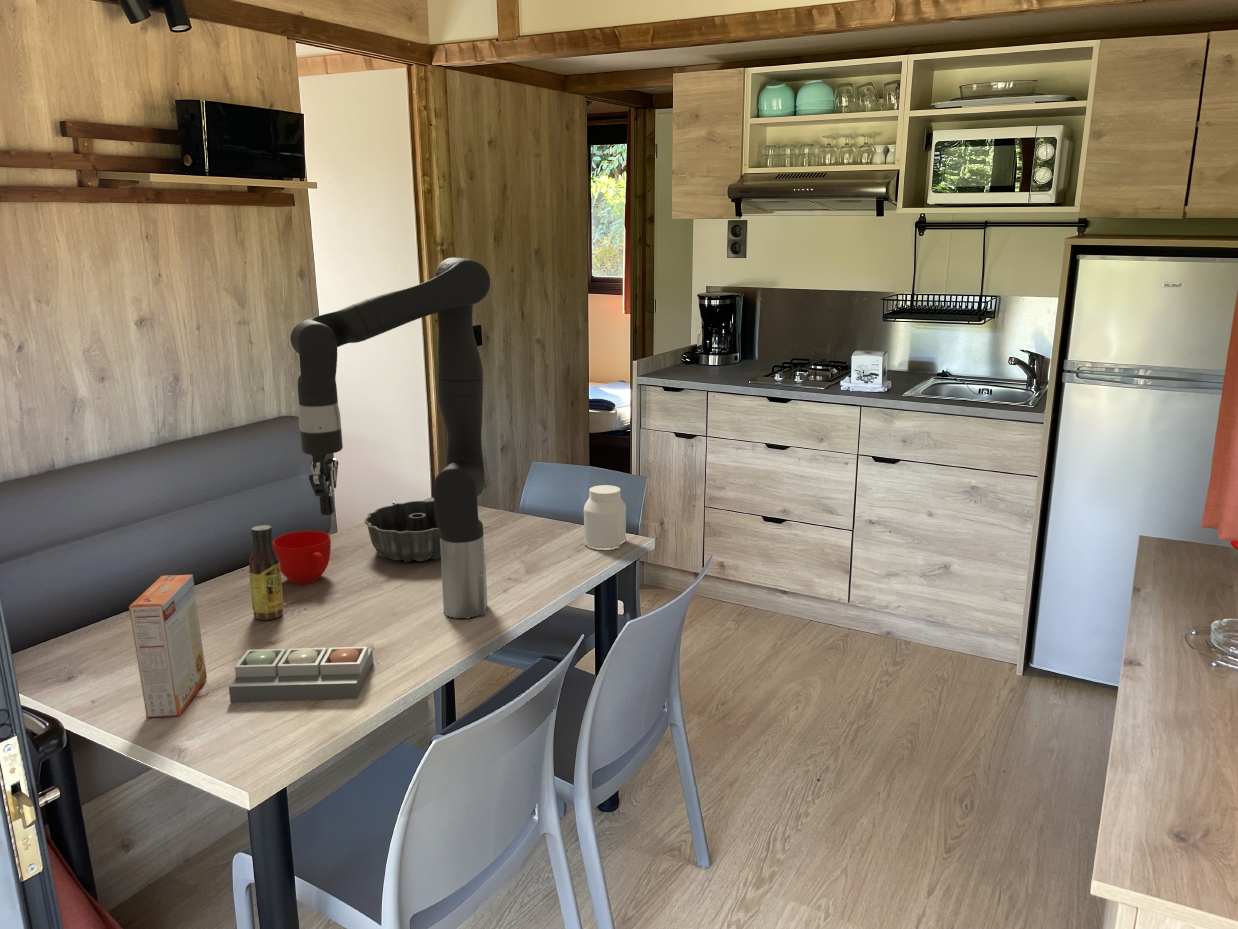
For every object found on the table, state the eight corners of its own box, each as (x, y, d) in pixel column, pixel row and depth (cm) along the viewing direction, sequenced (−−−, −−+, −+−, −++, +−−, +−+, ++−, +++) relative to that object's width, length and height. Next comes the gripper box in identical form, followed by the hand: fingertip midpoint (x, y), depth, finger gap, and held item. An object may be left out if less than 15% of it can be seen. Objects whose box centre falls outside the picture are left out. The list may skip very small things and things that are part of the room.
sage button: (279, 657, 170) (278, 649, 169) (271, 669, 165) (270, 662, 164) (252, 658, 169) (251, 650, 169) (242, 670, 164) (242, 663, 164)
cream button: (320, 656, 170) (320, 648, 170) (313, 668, 165) (312, 661, 165) (293, 657, 170) (292, 649, 169) (285, 669, 165) (284, 661, 165)
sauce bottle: (273, 622, 194) (264, 533, 189) (247, 620, 195) (237, 531, 190) (290, 610, 200) (282, 524, 195) (264, 608, 201) (255, 522, 196)
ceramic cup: (296, 598, 207) (292, 556, 204) (267, 578, 219) (263, 538, 217) (350, 584, 215) (346, 544, 213) (319, 565, 227) (316, 527, 225)
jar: (596, 535, 250) (595, 482, 246) (629, 538, 247) (629, 485, 243) (580, 548, 240) (579, 493, 236) (614, 552, 236) (614, 496, 233)
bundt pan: (423, 576, 220) (421, 537, 218) (344, 557, 233) (341, 520, 231) (491, 545, 242) (489, 509, 240) (416, 529, 255) (414, 495, 253)
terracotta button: (361, 655, 170) (361, 647, 170) (355, 667, 166) (355, 660, 165) (334, 656, 170) (333, 648, 170) (327, 668, 165) (326, 660, 165)
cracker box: (174, 680, 169) (160, 574, 164) (208, 679, 169) (195, 573, 164) (142, 719, 155) (126, 604, 150) (179, 717, 156) (164, 603, 151)
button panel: (373, 662, 176) (371, 638, 175) (357, 698, 162) (355, 672, 161) (256, 665, 175) (254, 641, 173) (230, 702, 161) (227, 676, 160)
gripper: (331, 434, 168) (339, 524, 172) (348, 419, 181) (354, 503, 185) (290, 434, 167) (298, 524, 172) (309, 420, 180) (317, 504, 185)
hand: (327, 513), depth 178 cm, fingers closed
